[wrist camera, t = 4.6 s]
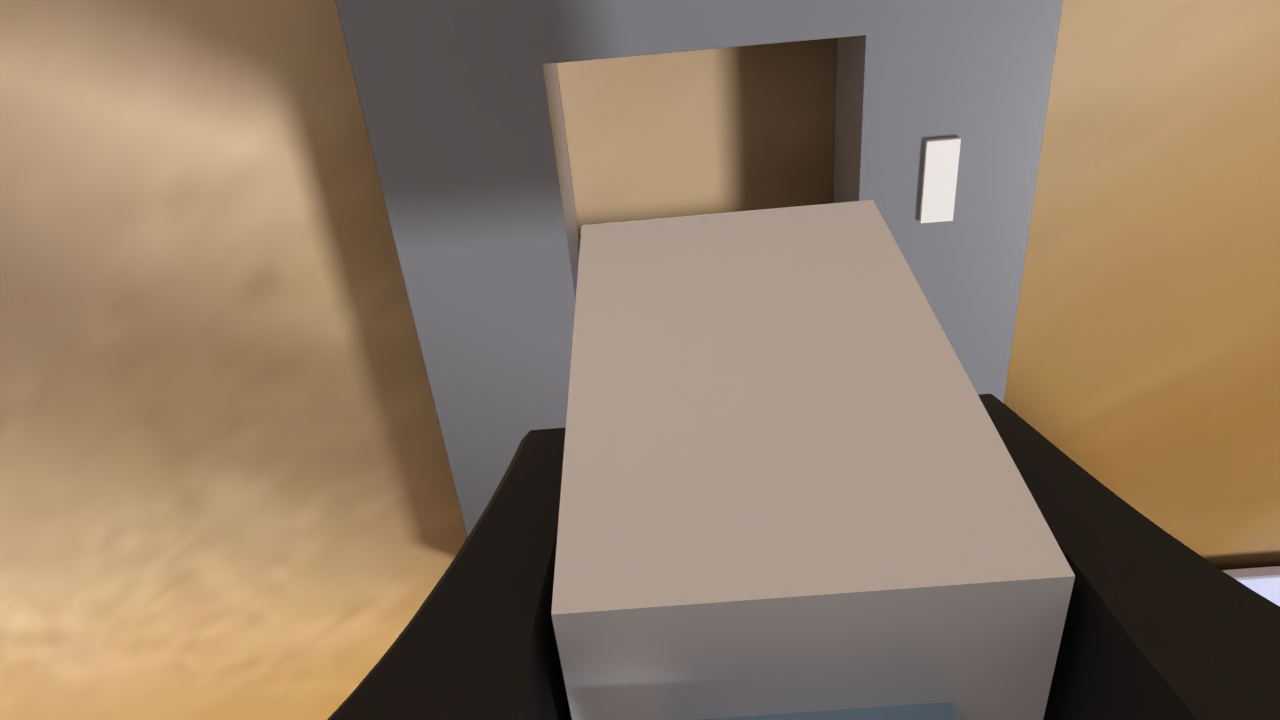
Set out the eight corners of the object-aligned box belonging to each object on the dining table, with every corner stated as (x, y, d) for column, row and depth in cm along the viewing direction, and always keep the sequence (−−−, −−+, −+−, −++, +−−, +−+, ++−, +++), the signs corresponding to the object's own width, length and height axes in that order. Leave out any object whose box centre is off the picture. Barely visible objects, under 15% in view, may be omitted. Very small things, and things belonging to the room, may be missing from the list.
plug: (862, 432, 15) (1040, 951, 9) (611, 452, 16) (604, 977, 9) (873, 200, 13) (1120, 660, 7) (581, 224, 13) (544, 701, 7)
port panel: (944, 544, 26) (972, 617, 24) (504, 576, 27) (494, 651, 24) (1020, -102, 18) (1076, -79, 15) (366, -41, 18) (330, -10, 16)
